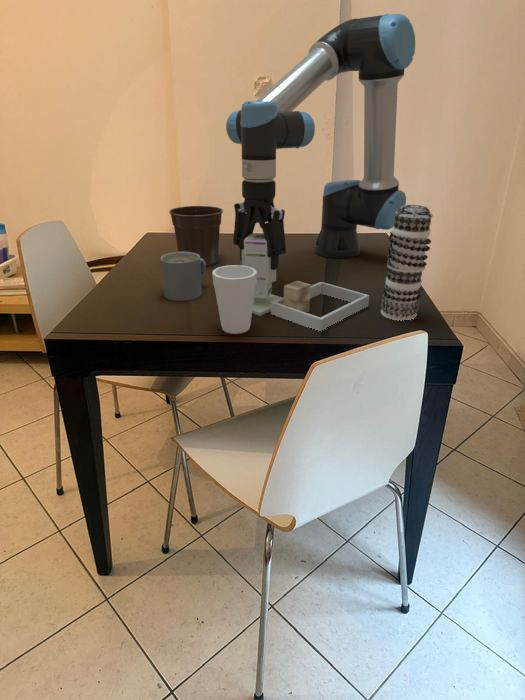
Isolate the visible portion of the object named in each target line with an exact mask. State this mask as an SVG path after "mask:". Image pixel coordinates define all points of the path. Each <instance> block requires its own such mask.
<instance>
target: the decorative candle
mask: <svg viewBox="0 0 525 700" xmlns="http://www.w3.org/2000/svg"><path fill="white" fill-rule="evenodd" d="M395 214H396V215H395V223H394V226H393V228H392V230H391V231H390V232H389V233H390V234H389V236H388V242H390V243H389V244H388V246H387V248H388V251H387V252H386V254H387V261H386V266H387V268H388V269H387V275H386V277H385V284H383V288H384V289H383V291H382V294H383V296H382V298H381V302H382V303H381V304H380V308H381V309H380V315H381V314H382V315H381V316H383V317H384V318H387V319H388V318H389V320H391V319H392V320H393V321H396V320H397V322H405V321H404V320H410V321H412V320H411V319H413V320H415V319H416V318H417V317H416V316H418V313H417V312H418V311H419V308H418V307H419V306H420V302H419V301H420V298H421V295H420V294H421V292H422V276H423V271H425V269H426V266H427V265H428V264H427V262H426V261H425V260H427V259H428V255H427V254H426V252H428V251H430V250H431V247H430V246H428V245H430V244H431V243H432V240H431V239H430V238H429V237H430V235H431V234H430V233H431V227H430V226H431V224H432V218H433V217H434V214H433V213H431V211H430V209H429V207H427V206H426V205H425V206H424V205H420V204H406V205H404V206H402V207H401V208H400V209H399V210H398V211H397V212H395ZM415 317H416V318H415ZM414 318H415V319H414ZM399 320H400V321H399ZM402 320H403V321H402Z"/></svg>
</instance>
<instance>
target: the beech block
mask: <svg viewBox="0 0 525 700" xmlns="http://www.w3.org/2000/svg"><path fill="white" fill-rule="evenodd" d="M311 286H312V284H310V283H307V282H303V281H300V280H296V281H292V282H290V283H288V284H285V285H283V297H284V305H285V306H288V307H291V308H294V309H297V310H300V311H302V312H305V313H307V312H308V313H310V304H311V299H310V288H311Z"/></svg>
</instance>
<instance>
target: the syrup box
mask: <svg viewBox="0 0 525 700" xmlns="http://www.w3.org/2000/svg"><path fill="white" fill-rule="evenodd" d="M267 255H269V252H268V248H267V241H266V240H265V237H264V233H263V232H260V233H256V232H255V233H254V232H253V233H252V234H250V235H249V236H247V237H246V238H245V239H244V263H245V266H248V267H252V268H254V269H255V270H256V272H257V284H256V286H255V294H254V298H266V299H267V298H268V296H269V295H270V294H272V292H273V282H272V283H269V284H268V283H266V256H267Z"/></svg>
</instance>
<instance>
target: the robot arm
mask: <svg viewBox="0 0 525 700" xmlns="http://www.w3.org/2000/svg"><path fill="white" fill-rule="evenodd" d="M415 51H416V33H415V30H414V27H413V24H412V23H411V21H410V19H409V17H407V16H406V15H404V14H402V13H386V14H381V15H373V16H367V17H360V18H353V19H352V18H351V19H348V20H345V21H344V22H341V23H340V24H338V25H336V26H335V27H333V28H332V29H331V30H329V31H327V33H325V34H323V36H321V37H320V38H319V39H318V40H317V41H316V42H315V43H313V44H312V45H311V46H310V48H309V49H308V54H307V55H306V56H305V57H304V58H303V59H301V61H299V62H298V63H297V64H296V65H295V66H294V67H292V69H290V70H289V71H288V72H287V73H286V74H285V75H284V76H283V77H281V78H280V79H279V80H278V81H277V82H276V83H274V84H273V86H271V87H270V88H269V89H268V90H267V91H265V92H264V94H262V95H261V96H260V97H258V99H257V100H252V101H251V100H247V101H244V102H243V103H242V104H241V109H240V110H236V111H233V112H231V113H230V114H229V115H228V117H227V119H226V124H225V130H226V134H227V137H228V138H229V140H230V141H231V142H232V143H234V144H239V145H241V178H243V180H242V181H241V196H242V198H244V200H243V202H238V203H234V206H233V207H234V212H235V213H234V214H235V216H234V217H235V218H234V229H233V239H232V242H233V245H236V246H238V248H239V259H240V262H241V265H242V266H245V263H244V239H245V238H246V237H247V236H249V235H250V234H252V233H254V230H255V227H256V225H257V224H259V228H261V229H262V233H264V237H265V240H266V241H267V248H268V252H269V255H267V256H266V283H268V284H269V283H272V284H273V283H275V282H276V281H277V270H278V269H279V258H280V257H279V256H281V255H284V254H287V253H286V252H287V249H286V247H287V246H286V236H285V235H286V234H285V223H284V220H285V214H286V213H285V212H286V211H285V209H283V208H282V209H278V208H276V206H275V204H274V199H275V197H276V187H277V186H276V181H275V180H274V179H275V178H276V177H277V150H278V149H281V150H282V149H299V148H303V147H306V146H308V145H309V144H310V143H311V142H312V141H313V139H314V137H315V132H316V124H315V122H314V118H313V116H312V115H310V113H307V112H306V111H300V110H295V109H296V108H297V107H298V106H299V105H300V104H302V103H303V102H304V101H305V100H306V99H307V98H308V97H310V95H312V93H313V92H314V91H316V89H318V88H319V87H320V86H321V85H322V84H323V83H324V82H325V81H327V82H328V81H330V80H331V81H332V80H333V79H334V78H335V77H336V76H338V75H339V74H340V75H341V74H342V73H347V72H358V82H360V83H361V85H362V86H363V87H364V89H363V90H364V92H363V93H364V100H363V101H364V105H363V108H364V109H363V117H364V119H363V120H364V121H363V123H364V124H363V179H361V180H360V179H349V180H348V179H347V180H346V179H345V180H336V181H330V182H327V183H326V184H325V185H324V188H323V194H322V207H321V208H322V209H321V210H322V212H321V226H320V231H319V234H318V236H317V239H316V242H315V243H314V253H315V254H316V255H318V256H321V257H325V258H332V259H349V258H355V257H358V255H360V252H361V249H360V248H361V245H360V240H359V236H358V230H357V229H358V226H361V227H362V226H363V227H366V228H367V227H368V228H372V229H375V230H385V231H388V230H391V229H393V226H394V223H395V215H396V214H395V212H397V211H398V210H399V209H400V208H401V207H402V206H404V205H407V195H406V193H405V192H404V191H403V190H402V189H400V190H399V186H400V182H399V180H398V178H396V177H395V156H396V135H397V133H396V131H397V129H396V128H397V114H398V113H397V111H398V110H397V106H398V89H399V88H398V87H399V86H398V84H399V82H400V81H401V80H402V79H403V78H404V76H405V69H406V68H408V67H409V66H410V65H411V64H412V62H413V60H414V58H413V57H414V56H415V53H416V52H415Z"/></svg>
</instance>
